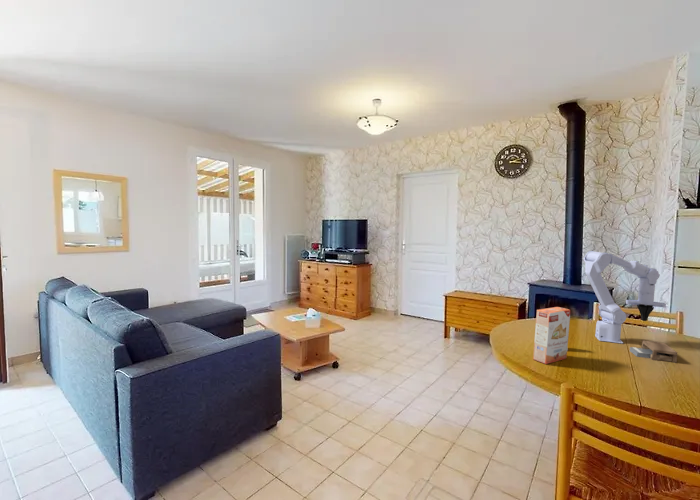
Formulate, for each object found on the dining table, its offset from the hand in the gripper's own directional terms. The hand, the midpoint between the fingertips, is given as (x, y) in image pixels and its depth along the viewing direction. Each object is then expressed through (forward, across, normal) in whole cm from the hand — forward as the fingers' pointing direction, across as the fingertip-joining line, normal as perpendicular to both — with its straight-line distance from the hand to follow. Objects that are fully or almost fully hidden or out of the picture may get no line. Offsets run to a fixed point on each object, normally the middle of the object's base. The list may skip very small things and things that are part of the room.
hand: (643, 320), depth 164 cm
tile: (+10, -5, -23) cm, 25 cm away
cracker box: (+10, -44, -46) cm, 64 cm away
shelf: (+10, -1, -22) cm, 24 cm away
